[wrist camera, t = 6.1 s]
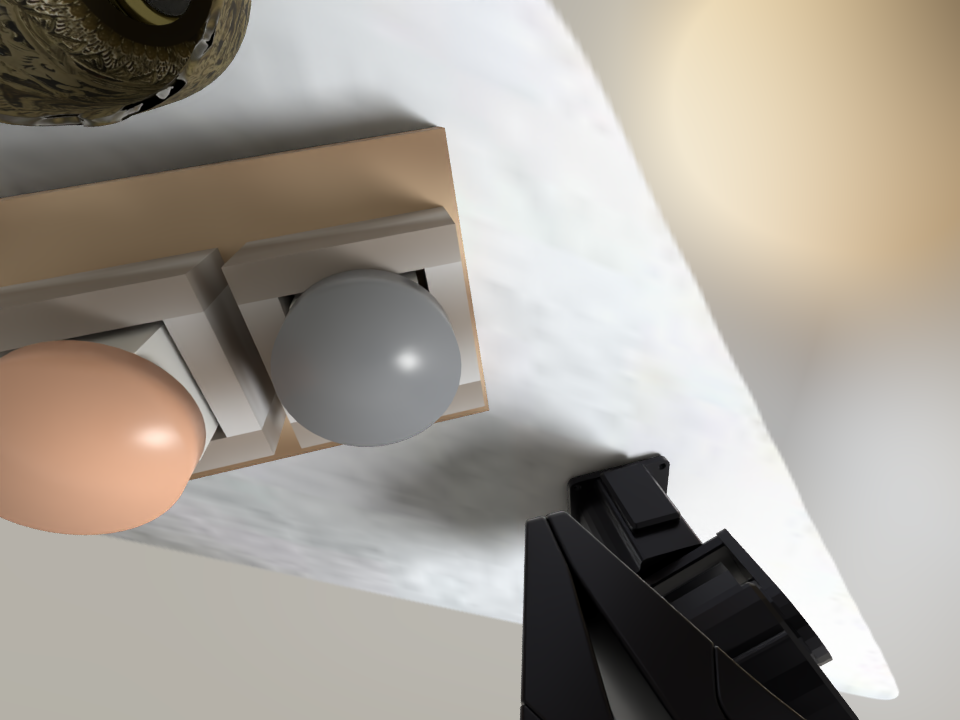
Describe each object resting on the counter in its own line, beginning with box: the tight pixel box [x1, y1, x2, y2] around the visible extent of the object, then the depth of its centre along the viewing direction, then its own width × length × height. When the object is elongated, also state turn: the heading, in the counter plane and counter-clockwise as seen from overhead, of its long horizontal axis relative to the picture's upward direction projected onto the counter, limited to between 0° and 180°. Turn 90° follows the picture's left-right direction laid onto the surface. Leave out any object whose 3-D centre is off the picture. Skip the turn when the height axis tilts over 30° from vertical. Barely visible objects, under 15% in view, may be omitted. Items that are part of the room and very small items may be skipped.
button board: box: [0, 126, 489, 480], centre depth 17 cm, size 12×16×5 cm
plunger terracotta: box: [0, 320, 219, 535], centre depth 14 cm, size 6×6×4 cm
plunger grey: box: [270, 269, 462, 447], centre depth 15 cm, size 6×6×4 cm
